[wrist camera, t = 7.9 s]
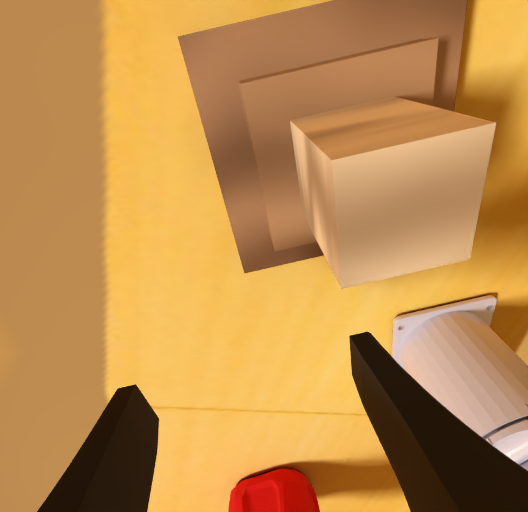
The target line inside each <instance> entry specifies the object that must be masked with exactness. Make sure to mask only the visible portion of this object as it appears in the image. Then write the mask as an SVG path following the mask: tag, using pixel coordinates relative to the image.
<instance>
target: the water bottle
mask: <svg viewBox="0 0 528 512" xmlns="http://www.w3.org/2000/svg"><path fill="white" fill-rule="evenodd" d="M229 512H320V510H319V505H318V501H317V498H316V494H315V491H314V489H313V487H312V485H311V484H310V483H309V481H308V480H307V478H306V477H305V476H304V475H303V474H301V473H300V472H298V471H297V470H295V469H284V468H280V469H277V470H274V471H271V472H268V473H265V474H262V475H259V476H255V477H252V478H249V479H245V480H242V481H241V482H240V483H239V484H238V485H237V486H236V487H235V488H234V489H233V490H232V491H231V495H230V502H229Z"/></svg>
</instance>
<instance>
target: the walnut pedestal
mask: <svg viewBox="0 0 528 512" xmlns="http://www.w3.org/2000/svg"><path fill="white" fill-rule="evenodd" d="M466 8H467V0H333V1H329V2H325V3H320V4H316V5H312V6H307V7H303V8H299V9H295V10H290V11H286V12H282V13H277V14H273V15H269V16H264V17H260V18H256V19H252V20H247V21H243V22H239V23H234V24H230V25H226V26H221V27H217V28H213V29H209V30H204V31H200V32H196V33H191V34H187V35H183V36H178V39H179V43H180V46H181V50H182V53H183V57H184V60H185V64H186V68H187V71H188V75H189V78H190V82H191V85H192V89H193V92H194V96H195V99H196V103H197V107H198V110H199V114H200V117H201V121H202V124H203V128H204V131H205V135H206V138H207V142H208V145H209V149H210V153H211V156H212V160H213V163H214V167H215V170H216V174H217V177H218V181H219V184H220V188H221V192H222V195H223V199H224V202H225V206H226V209H227V213H228V216H229V220H230V223H231V227H232V231H233V234H234V238H235V241H236V245H237V248H238V252H239V255H240V259H241V262H242V266H243V269H244V273H248V272H253V271H257V270H261V269H266V268H270V267H274V266H279V265H283V264H288V263H292V262H296V261H301V260H305V259H309V258H314V257H318V256H323V255H324V254H323V252H322V250H321V248H320V246H319V244H318V242H317V240H316V239H315V237H314V235H313V233H312V231H311V229H310V227H309V225H308V223H307V221H306V219H305V217H304V215H303V210H302V203H301V196H300V189H299V181H298V174H297V167H296V160H295V153H294V145H293V138H292V131H291V124H290V120H294V119H298V118H302V117H307V116H311V115H315V114H320V113H324V112H328V111H333V110H337V109H341V108H346V107H350V106H354V105H359V104H363V103H368V102H372V101H376V100H381V99H385V98H389V97H398V98H402V99H406V100H410V101H414V102H418V103H422V104H426V105H430V106H434V107H438V108H441V109H445V110H449V111H453V112H454V106H455V98H456V89H457V81H458V73H459V65H460V57H461V49H462V41H463V33H464V25H465V16H466Z"/></svg>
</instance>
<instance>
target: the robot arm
mask: <svg viewBox="0 0 528 512" xmlns="http://www.w3.org/2000/svg"><path fill="white" fill-rule="evenodd" d="M496 302H497V299H496V298H495V297H494V296H492V295H488V296H483V297H479V298H475V299H470V300H466V301H461V302H457V303H453V304H448V305H444V306H439V307H435V308H431V309H426V310H422V311H417V312H413V313H409V314H404V315H400V316H397V317H396V318H395V319H394V321H393V341H392V356H391V355H390V354H389V353H388V352H387V351H386V350H385V349H384V348H383V347H382V346H381V344H380V343H379V342H378V341H377V340H376V339H375V338H374V337H373V335H372V334H371V333H369V332H364V333H360V334H355V335H351V336H350V351H351V366H352V376H353V379H354V381H355V384H356V387H357V390H358V393H359V396H360V398H361V401H362V404H363V406H364V408H365V411H366V413H367V415H368V417H369V419H370V421H371V423H372V426H373V428H374V430H375V432H376V434H377V436H378V438H379V440H380V442H381V445H382V447H383V449H384V451H385V453H386V455H387V457H388V459H389V461H390V464H391V466H392V468H393V470H394V472H395V474H396V476H397V479H398V481H399V483H400V485H401V488H402V490H403V492H404V495H405V498H406V500H407V503H408V505H409V508H410V511H411V512H528V366H527V365H526V364H525V363H524V362H523V361H522V360H521V359H520V358H519V357H518V356H517V355H516V354H515V352H514V351H513V350H512V349H511V348H510V347H509V346H508V345H507V344H506V343H505V342H504V341H503V340H502V339H501V338H500V337H499V336H498V335H497V334H496V333H495V332H494V331H493V330H492V329H491V328H490V324H491V321H492V317H493V313H494V310H495V306H496ZM158 426H159V418H158V417H157V415H156V414H155V412H154V411H153V409H152V408H151V406H150V405H149V403H148V402H147V400H146V399H145V397H144V396H143V394H142V393H141V391H140V390H139V388H138V387H137V385H131V386H127V387H122V388H118V389H117V391H116V392H115V394H114V395H113V397H112V398H111V400H110V402H109V403H108V405H107V406H106V408H105V410H104V411H103V413H102V415H101V416H100V418H99V419H98V421H97V423H96V424H95V426H94V427H93V429H92V431H91V432H90V434H89V435H88V437H87V439H86V440H85V442H84V444H83V445H82V446H81V448H80V450H79V451H78V453H77V454H76V456H75V457H74V459H73V460H72V462H71V463H70V465H69V467H68V468H67V470H66V471H65V473H64V474H63V475H62V477H61V478H60V480H59V481H58V483H57V484H56V486H55V487H54V489H53V490H52V491H51V493H50V494H49V496H48V497H47V499H46V500H45V502H44V503H43V504H42V506H41V507H40V508H39V510H38V511H37V512H147V509H148V503H149V497H150V492H151V486H152V480H153V474H154V468H155V462H156V455H157V445H158Z"/></svg>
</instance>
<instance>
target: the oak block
mask: <svg viewBox="0 0 528 512" xmlns="http://www.w3.org/2000/svg"><path fill="white" fill-rule="evenodd" d="M290 124H291V131H292V138H293V145H294V153H295V160H296V167H297V174H298V181H299V189H300V196H301V203H302V210H303V215H304V217H305V219H306V221H307V223H308V225H309V227H310V229H311V231H312V233H313V235H314V237H315V239H316V240H317V242H318V244H319V246H320V248H321V250H322V252H323V254H324V256H325V258H326V260H327V262H328V264H329V266H330V268H331V269H332V271H333V273H334V275H335V277H336V279H337V281H338V283H339V285H340V287H341V289H343V288H347V287H352V286H356V285H360V284H365V283H369V282H373V281H378V280H382V279H387V278H391V277H395V276H400V275H404V274H409V273H413V272H417V271H422V270H426V269H430V268H435V267H439V266H444V265H448V264H452V263H457V262H461V261H466V260H470V256H471V251H472V246H473V241H474V235H475V230H476V225H477V220H478V215H479V210H480V205H481V199H482V194H483V189H484V184H485V179H486V174H487V169H488V164H489V158H490V153H491V148H492V143H493V138H494V133H495V128H496V122H493V121H489V120H485V119H481V118H477V117H473V116H469V115H465V114H461V113H457V112H453V111H449V110H445V109H441V108H438V107H434V106H430V105H426V104H422V103H418V102H414V101H410V100H406V99H402V98H398V97H389V98H385V99H381V100H376V101H372V102H368V103H363V104H359V105H354V106H350V107H346V108H341V109H337V110H333V111H328V112H324V113H320V114H315V115H311V116H307V117H302V118H298V119H294V120H290Z"/></svg>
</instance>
